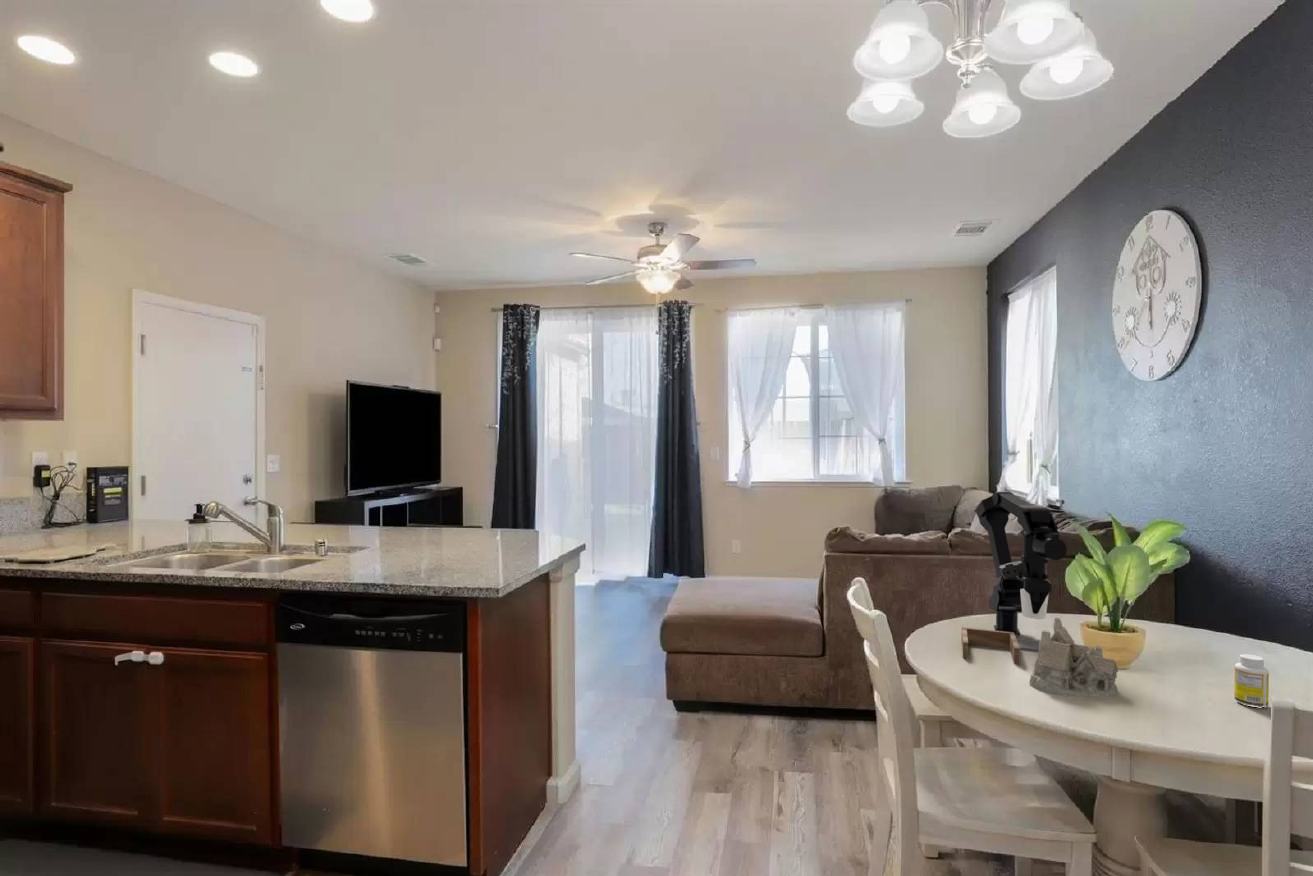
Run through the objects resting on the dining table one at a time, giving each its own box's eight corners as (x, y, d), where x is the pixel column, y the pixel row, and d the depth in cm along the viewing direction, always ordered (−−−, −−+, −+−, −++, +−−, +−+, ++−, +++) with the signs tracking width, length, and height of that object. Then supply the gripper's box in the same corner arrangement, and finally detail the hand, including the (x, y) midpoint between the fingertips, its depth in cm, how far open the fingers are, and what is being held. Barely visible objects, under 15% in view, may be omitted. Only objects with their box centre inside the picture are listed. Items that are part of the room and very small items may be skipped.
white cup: (1053, 619, 185) (1054, 593, 185) (1027, 619, 186) (1028, 593, 186) (1039, 613, 192) (1040, 588, 192) (1014, 612, 192) (1015, 587, 192)
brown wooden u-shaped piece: (961, 641, 193) (961, 627, 193) (1013, 647, 188) (1014, 632, 188) (962, 657, 179) (963, 642, 179) (1019, 664, 174) (1019, 648, 174)
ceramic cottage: (1018, 683, 160) (1025, 619, 160) (1054, 673, 169) (1060, 612, 169) (1091, 710, 147) (1098, 640, 147) (1125, 697, 156) (1132, 632, 156)
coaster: (1013, 640, 195) (1013, 638, 195) (1050, 644, 191) (1050, 642, 191) (1016, 649, 186) (1016, 647, 186) (1054, 653, 183) (1054, 651, 183)
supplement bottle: (1250, 699, 152) (1251, 652, 152) (1275, 709, 147) (1276, 660, 147) (1227, 699, 152) (1228, 653, 152) (1251, 710, 146) (1252, 661, 146)
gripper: (999, 546, 201) (998, 600, 201) (1004, 556, 183) (1003, 615, 183) (1043, 549, 196) (1042, 604, 196) (1052, 560, 179) (1051, 620, 179)
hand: (1033, 610), depth 189 cm, fingers closed on white cup, 6 cm apart
